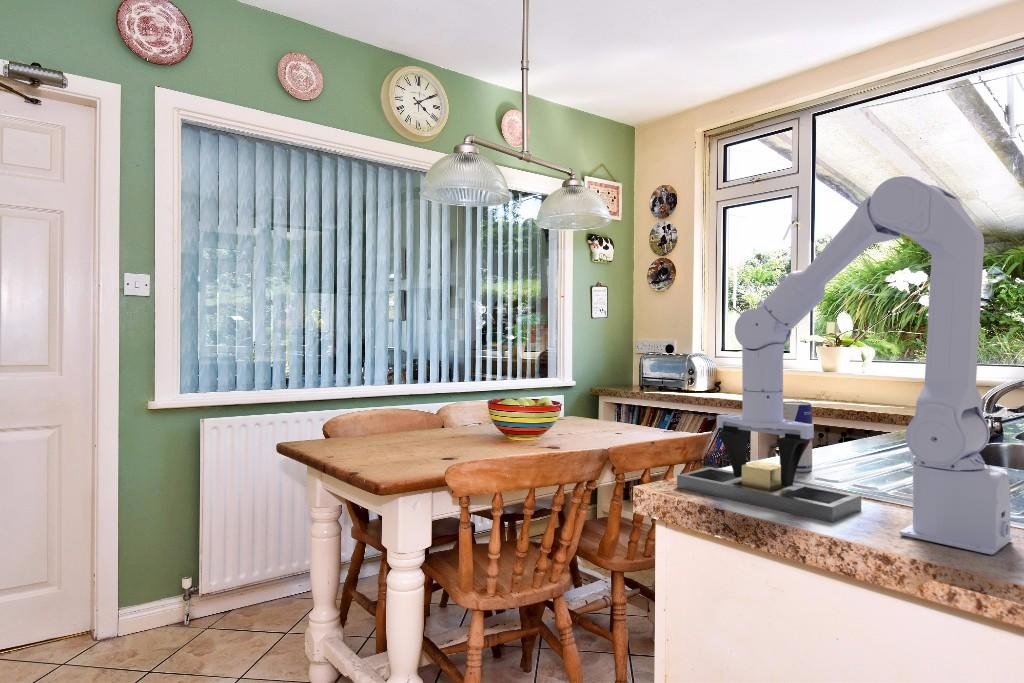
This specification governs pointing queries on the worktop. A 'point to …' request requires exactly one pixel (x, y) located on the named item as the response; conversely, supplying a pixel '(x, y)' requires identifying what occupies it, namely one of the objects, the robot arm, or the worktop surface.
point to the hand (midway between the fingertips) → (762, 480)
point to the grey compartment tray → (773, 495)
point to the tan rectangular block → (762, 476)
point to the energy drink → (803, 415)
